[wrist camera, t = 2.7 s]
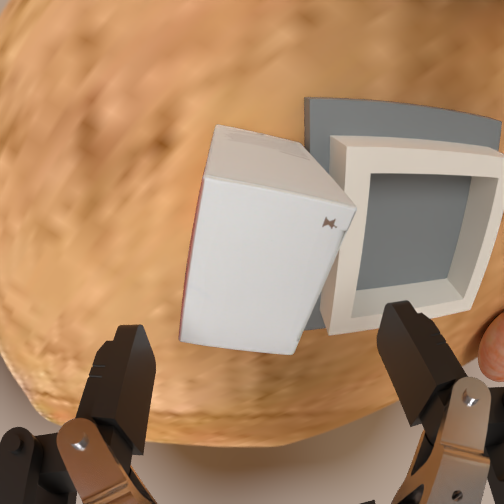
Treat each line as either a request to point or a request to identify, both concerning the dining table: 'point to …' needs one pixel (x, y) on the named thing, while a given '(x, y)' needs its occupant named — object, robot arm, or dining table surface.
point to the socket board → (406, 207)
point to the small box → (260, 243)
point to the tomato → (493, 350)
